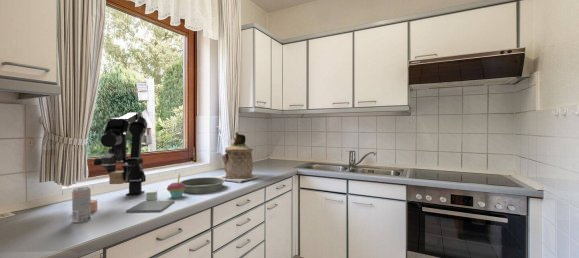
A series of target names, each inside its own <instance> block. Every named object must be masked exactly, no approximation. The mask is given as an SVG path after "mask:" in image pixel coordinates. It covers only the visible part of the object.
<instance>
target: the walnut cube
mask: <svg viewBox="0 0 579 258" xmlns="http://www.w3.org/2000/svg"><path fill="white" fill-rule="evenodd" d="M108 176H109V177H108V178H109V183H108V184H109V185H122V184H127V183H126V182H128V177H127V179H126V180H125V181H124V170H115V171H114V172H110V173H108Z"/></svg>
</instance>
